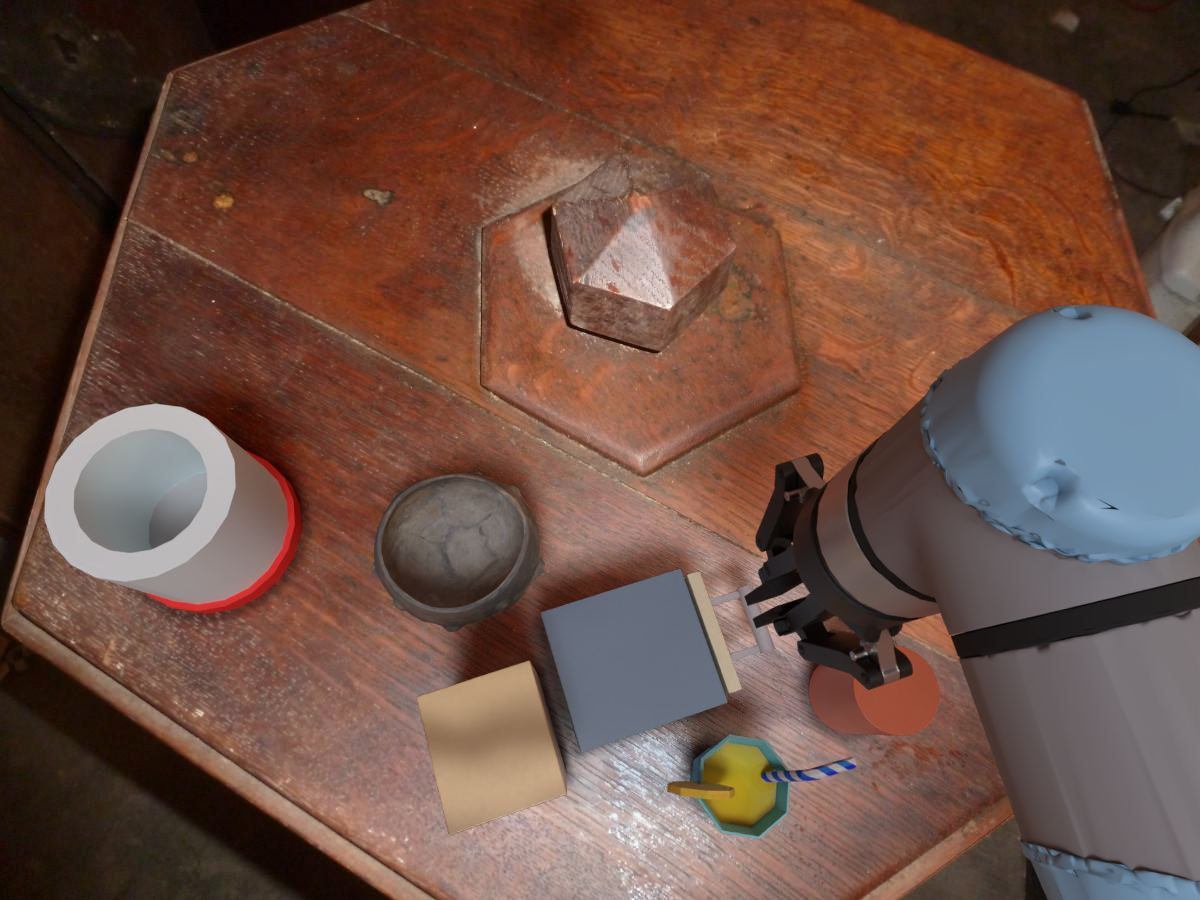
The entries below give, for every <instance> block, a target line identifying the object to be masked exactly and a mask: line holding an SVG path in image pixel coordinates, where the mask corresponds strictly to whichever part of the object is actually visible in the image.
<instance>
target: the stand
mask: <svg viewBox="0 0 1200 900" xmlns="http://www.w3.org/2000/svg"><path fill="white" fill-rule="evenodd" d="M416 701H417V705H418V710H419V713H420V719H421V722H422V726H423V731H424V735H425V739H426V744H427V748H428V753H429V758H430V761H431V765H432V771H433V775H434V778H435V782H436V783H435V784H436V788H437V791H438V795H439V800H440V804H441V808H442V809H441V810H442V812H443V818H444V821H445V825H446V829H447V834H448V836H453V835H456V834H458V833H462V832H464V831H467V830H471V829H474V828H476V827H479V826H481V825H485V824H487V823H490V822H492V821H496V820H499V819H501V818H505V817H507V816H510V815H513V814H515V813H519V812H521V811H524V810H527V809H529V808H530V809H531V808H533V807H535V806H538V805H541V804H544V803H547V802H550V801H553V800H556V799H559V798H561V797H565V796H566V795H567V794H568V783H567V782H568V780H567V777H568V776H567V770H566V767H565V764H564V763H565V762H564V760H563V756H562V753H561V749H560V745H559V742H558V739H557V735H556V731H555V727H554V724H553V722H552V717H551V714H550V710H549V707H548V702H547V700H546V697H545V692H544V689H543V686H542V683H541V679H540V676H539V674H538V672H537V671H536V668H535V667H534V665H533V664H532V662H531V660H526V661H523V662H519V663H516V664H513V665H510V666H506V667H504V668H499V669H498V670H494V671H492V672H488V673H485V674H482V675H479V676H476V677H472V678H470V679H467V680H466V679H465V680H463V681H461V682H457V683H455V684H451V685H448V686H445V687H442V688H439V689H436V690H433V691H429V692H426V693H423V694H420V695H418V696H416Z"/></svg>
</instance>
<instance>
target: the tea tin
mask: <svg viewBox="0 0 1200 900" xmlns="http://www.w3.org/2000/svg"><path fill="white" fill-rule="evenodd" d="M896 648H897V649H899V650H900V651H901V652H902V653H904V654H905V655H906V656H907V657H908V659H909V660H910V662H911V664H912V668H913V674H912V675H911V676H908V677H905V678H902V679H899V680H897V681H894V682H891V683H889V684H886V685H883V686H880V687H877V688H874V689H871V690H868V689H866V688H865V687H864V686H863V685H862V684H861V683H860V682H858V681H857V680H856V679H855V678H854V677H853V676H852V675H851V674H849V673H845V672H842V671H839V670H836V669H833V668H829V667H826V666H823V665H820V664H818V665H817V666H816V668H815V669H814V670H813V672H812V675H811V677H810V679H809V685H808V696H809V697H808V698H809V702H810V705H811V707H812V710H813V711H814V713H815V715H816V717H817V718H818V719H819V720H820V721H821V722H822V723H823V724H824V725H825V726H827V727H828V728H829V729H831V730H834V731H836V732H839V733H841V734H852V735H853V734H854V735H874V736H875V735H876V736H895V737H906V736H911V735H915V734H918V733H920V732H921V731H923V730H924V729H926V728H927V727H928V726H929V725H931V723H932V722H933V720H934V718H935V717H936V715H937V713H938V709H939V706H940V700H941V699H940V697H941V695H940V686H939V682H938V679H937V676H936V674H935V672H934V670H933V668H932V667H931V666H930V664H929V663H928V661H926V659H924V658H923V656H921V655H920V654H919V653H917V652H916V651H914V650H912V649H911V648H908V647H906V646H903V645H899V644H896Z"/></svg>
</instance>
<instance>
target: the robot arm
mask: <svg viewBox="0 0 1200 900" xmlns="http://www.w3.org/2000/svg"><path fill="white" fill-rule="evenodd" d="M928 387H929V389H928V390H927V392H926V393H925V394H924V396H922V397H921V398H920V399H919V400H918V401H917V402H916V403H915V404H914V405H913V406H912V407H911V408H910V409H909V410H908V411H907V412H906V413H905V414H904V415H902V416H901V417H900V418H899V419H898V420H897V421H896V422H895V423H894V424H893V425H892V426H891V427H890V428H889V429H887V430H885V431H884V432H883V433H882V434H881V435H880V436H879V437H878V438H876V439H875V440H874V441H872V442H871V443H870V444H869V445H868V446H867V447H865V448H864V449H863V450H862V451H861V452H859V453H858V454H857V455H856V456H855V457H854V458H852V459H851V460H850V461H849V462H848V463H847V464H845V465H844V466H843V467H842V468H841V469H839V470H838V471H837V473H836V474H835V475H834V476H832V477H831V478H830V479H829V480H828V481H827V482H826V480H824V475H825V463H824V460H823V457H822V456H821V454H819V453H818V452H814V453H813V452H812V453H810V454H807V455H804V456H800V457H797V458H794V459H790V460H787V461H783V462H780V463H777V464H776V465H775V468H774V488H773V491H772V494H771V496H770V498H769V501H768V503H767V506H766V509H765V511H764V514H763V516H762V518H761V521H760V523H759V526H758V529H757V531H756V533H755V536H754V542H755V545H756V548H757V549H758V550H759V552H761V553H764V552H765V553H766V556H767V560H766V561H763V563H762V566H761V567H760V568H758V572H757V575H758V577H759V580H760V582H761V584H760V585H759V586H757V587H755V588H753V591H751V592H750V593H748V594H747V595H745V596H744V598H745V600H746V603H747V606H750V605H753V604H756V603H758V604H759V603H762V602H765V601H767V600H771V599H774V598H777V597H781V596H783V595H784V594H786V593H788V592H789V591H791V590H793V589H796V587H798V586H800V585H804V587H805V588H806V590H807V592H808V594H807V595H806V596H802V597H799V598H797V599H793V600H790V601H788V602H784V603H782V604H778V605H776V606H775V605H774V606H773V607H772V608H769V609H767V610H766V611H764V612H762V614H760V615H758V616H756V617H755V618H753V622H754V624H755V627H756V628H759V627H762V626H766V625H767V626H768V625H769V626H770V625H773V629H774V631H775V633H776V634H777V636H778V637H783V636H784V637H786V636H789V635H791V634H795V633H796V635H798V637H799V639H800V640H797V641H796V648H797V652H798V655H799V656H800V657H801V658H802V659H803V660H804V661H807V662H811V663H813V664H817V665H823V666H826V667H829V668H833V669H836V670H839V671H842V672H845V673H849V674H851V675H852V676H853V677H854V678H855V679H856V680H857V681H858V682H860V683H861V684H862V685H863V686H864V687H865V688H866V689H868V690H871V689H874V688H877V687H880V686H883V685H886V684H889V683H891V682H894V681H897V680H899V679H902V678H905V677H908V676H911V675H912V674H913V668H912V664H911V662H910V660H909V659H908V657H907V656H906V655H905V654H904V653H902V652H901V651H900V650H899V649H897V648H896V645H897V644H896V641H895V640H894V638H893V637H896V636H897V635H899V634H900V632H902V629H903V626H904V624H907V623H910V622H914V621H917V620H920V619H925V618H927V617H932V616H935V615H938V614H939V615H940V616H941V618H942V620H943V623H944V626H945V628H946V631H947V633H948V635H949V636H950V639H951V641H952V644H953V648H954V649H955V650H954V651H955V653H956V656H957V657H958V662H959V664H960V667H961V669H962V672H963V675H964V677H965V681H966V683H967V686H968V689H969V692H970V695H971V697H972V700H973V703H974V706H975V708H976V712H977V714H978V717H979V720H980V722H981V725H982V728H983V731H984V734H985V737H986V739H987V743H988V745H989V748H990V751H991V754H992V757H993V759H994V762H995V765H996V767H997V770H998V773H999V776H1000V779H1001V782H1002V785H1003V787H1004V790H1005V793H1006V796H1007V798H1008V801H1009V804H1010V807H1011V810H1012V813H1013V815H1014V819H1015V820H1016V825H1017V827H1018V829H1019V832H1020V835H1021V839H1019V844H1020V847H1021V852H1022V855H1024V857H1026V858H1027V859H1028V860H1029V861H1030V862H1031V865H1032V867H1033V870H1034V871H1035V874H1036V876H1037V879H1038V881H1039V883H1040V885H1041V888H1042V890H1043V892H1044V895H1045V897H1046V900H1200V542H1199V540H1198V539H1199V538H1200V346H1199V345H1198V344H1196V343H1195V342H1194V341H1192V340H1191V339H1189V338H1188V337H1187V336H1186V335H1184V334H1183V333H1181V332H1180V331H1178V330H1176V329H1175V328H1173V327H1172V326H1170V325H1168V324H1166V323H1164V322H1162V321H1160V320H1158V319H1156V318H1154V317H1151V316H1149V315H1146V314H1144V313H1141V312H1138V311H1135V310H1131V309H1127V308H1122V307H1120V306H1119V307H1118V306H1114V305H1106V304H1090V303H1089V304H1070V305H1056V306H1052V307H1049V308H1047V309H1044V310H1042V311H1040V312H1039V311H1038V312H1036V313H1035V312H1034V313H1032V314H1030V315H1028V316H1026V317H1023V318H1021V319H1020V320H1018V321H1015V322H1014V323H1013V324H1011V325H1010V326H1008V327H1007V328H1005V329H1004V330H1002V331H1001V332H1000V333H999V334H997V335H996V336H995V337H993V338H992V339H991V340H989V341H987V342H986V343H985V344H983V346H981V347H980V348H978V349H977V350H976V351H974V352H973V353H972V354H970V355H969V356H967V357H964V358H962V359H960V360H958V361H957V362H956V363H954V364H953V365H952V366H951V368H946V369H944V370H943V371H942V372H941V373H940V374H939V375H938V377H937V378H936V379H935V380H934V381H933V382H932V383H931V384H930V385H929V386H928ZM834 617H836V618H838V619H839V620H840V621H841V622H842V623H843V624H844V625H845V626H846V627H847V628H848V629H850V630H851V631H852V632H849V631H844V630H840V629H830V630H828V629H827V627H826V626H825V624H824V623H825V622H828V621H829V620H831V619H833V618H834Z"/></svg>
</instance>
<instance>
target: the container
mask: <svg viewBox="0 0 1200 900" xmlns="http://www.w3.org/2000/svg"><path fill="white" fill-rule="evenodd" d="M44 492H45V495H44V517H43V519H44V522H45V525H46V528H47V531H48V534H49V537H50V540H51V544H52V545H53V547H54V548H55V549H56V550H57V551H58V552H59V554H61V556H62V557H63V558H64V559H65V560H66V562H67V563H68V564H69V565H71V566H72V567H74V568H76V569H78V570H79V571H82V572H83V573H86V574H87V575H89V576H91V577H93V578H95V579H98V580H101V581H104V582H105V581H106V582H109V583H111V584H115V585H119V586H122V587H125V588H129V589H132V590H134V591H139V592H142V593H145V595H147V596H148V597H149V598H151V599H153V600H155V601H158V602H159V603H162V604H163V605H165V606H167V607H169V608H172V609H175V610H178V611H182V612H189V613H197V614H205V615H210V614H217V613H220V612H226V611H232V610H237V609H238V608H240V607H242V606H244V605H246V604H248V603H250V602H252V601H254V600H256V599H259V598H260V597H262V595H264V594H265V593H266V592H267V591H268V590H269V589H270V588H271V587H273V586H274V585H275V584H276V583H277V582H279V580H281V578H282V577H283V575H284V574H285V572H286V571H287V569H288V567H289V566H290V564H291V563H292V561H293V559H294V558H295V556H296V553H297V551H298V546H299V542H300V538H301V534H302V531H303V527H302V525H303V524H302V513H301V504H300V501H299V499H298V497H297V495H296V492H295V490H294V488H293V486H292V484H291V482H290V481H289V480H288V479H287V478H286V477H285V476H284V475H283V474H282V473H281V472H280V471H279V470H278V469H277V468H276V466H274V465H273V464H271V462H269V461H268V460H266V459H265V458H262V457H260V456H258V455H256V454H254V453H252V452H250V451H248V450H245V449H243V447H241V446H240V445H239V444H238V443H237V442H235V440H233V439H232V438H230V437H229V436H228V435H227V434H226V433H224V432H223V431H222V430H221V429H220V428H219V427H218V426H216V425H215V424H214V423H212V422H211V421H210V420H209V419H208V418H206V417H204V416H202V415H200V414H197V413H196V412H194V411H191V410H190V409H188V408H185V407H183V406H175V405H168V404H160V403H152V404H144V405H139V406H132V407H131V406H130V407H125V408H124V409H121V410H120V411H119V410H118V411H116V412H115V413H112V414H110V415H107V416H105V417H103V418H100V419H98V420H96V422H94V423H93V424H91V426H89V427H88V428H87V429H85V430H84V431H82V433H80V434H79V435H78V436H76V437H75V438H74V439H73V440H72V442H71V443H70V444H69V445H68V446H67V448H66V449H65V451H64V452H63V453H62V455H61V456H60V458H58V460H57V461H56V462H55V465H54V468H53V470H52V473H51V475H50V478H49V481H48V483H47V486H46V489H45V491H44Z"/></svg>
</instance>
